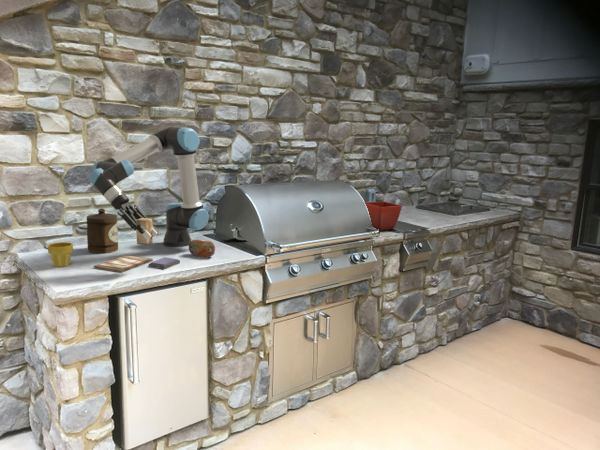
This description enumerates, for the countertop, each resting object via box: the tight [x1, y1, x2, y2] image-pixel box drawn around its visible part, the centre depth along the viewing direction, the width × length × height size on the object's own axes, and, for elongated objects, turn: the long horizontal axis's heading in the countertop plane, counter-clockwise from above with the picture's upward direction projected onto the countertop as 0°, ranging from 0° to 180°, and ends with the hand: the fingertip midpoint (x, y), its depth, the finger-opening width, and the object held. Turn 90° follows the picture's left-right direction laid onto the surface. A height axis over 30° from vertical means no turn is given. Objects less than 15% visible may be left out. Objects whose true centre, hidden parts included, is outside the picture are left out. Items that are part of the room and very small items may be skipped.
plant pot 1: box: [47, 241, 74, 268], centre depth 227 cm, size 10×10×10 cm
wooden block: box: [135, 217, 154, 246], centre depth 220 cm, size 5×5×11 cm
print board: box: [93, 254, 154, 274], centre depth 232 cm, size 22×16×1 cm
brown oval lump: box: [188, 239, 216, 259], centre depth 251 cm, size 15×3×8 cm, turn 64°
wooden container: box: [86, 208, 119, 255], centre depth 254 cm, size 15×15×22 cm
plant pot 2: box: [364, 201, 403, 231], centre depth 336 cm, size 19×19×17 cm
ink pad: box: [148, 256, 181, 270], centre depth 233 cm, size 12×9×2 cm
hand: (152, 236), depth 220 cm, fingers closed on wooden block, 5 cm apart
